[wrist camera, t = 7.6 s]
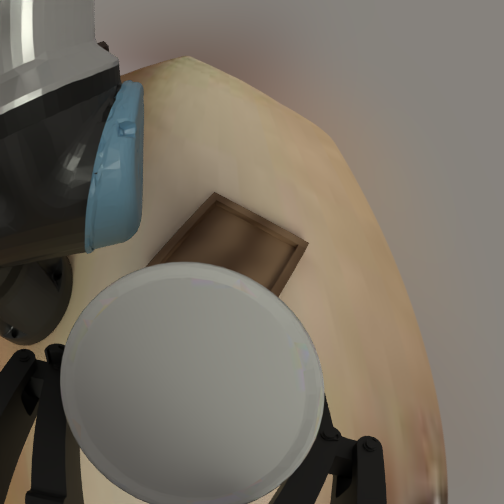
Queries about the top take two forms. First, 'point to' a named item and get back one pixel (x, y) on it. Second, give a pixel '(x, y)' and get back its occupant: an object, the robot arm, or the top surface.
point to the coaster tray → (235, 243)
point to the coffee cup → (192, 385)
